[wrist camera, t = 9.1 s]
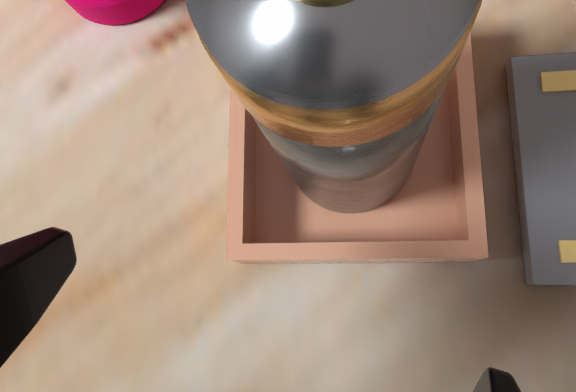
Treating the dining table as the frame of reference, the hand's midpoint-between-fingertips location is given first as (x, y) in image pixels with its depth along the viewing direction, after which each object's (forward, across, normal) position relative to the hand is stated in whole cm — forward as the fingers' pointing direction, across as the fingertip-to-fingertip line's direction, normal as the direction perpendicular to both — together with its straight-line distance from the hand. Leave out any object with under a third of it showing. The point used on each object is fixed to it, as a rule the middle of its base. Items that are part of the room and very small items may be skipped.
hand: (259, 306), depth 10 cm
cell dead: (+11, 0, +2) cm, 11 cm away
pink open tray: (+11, 0, +2) cm, 12 cm away
